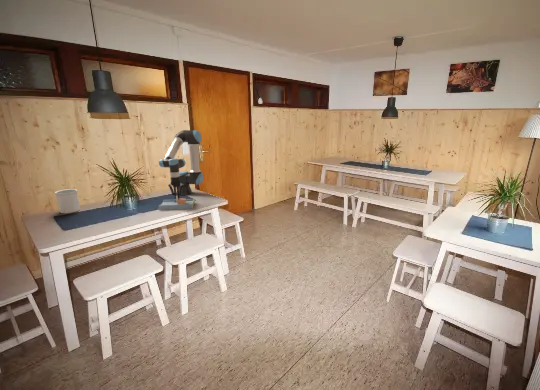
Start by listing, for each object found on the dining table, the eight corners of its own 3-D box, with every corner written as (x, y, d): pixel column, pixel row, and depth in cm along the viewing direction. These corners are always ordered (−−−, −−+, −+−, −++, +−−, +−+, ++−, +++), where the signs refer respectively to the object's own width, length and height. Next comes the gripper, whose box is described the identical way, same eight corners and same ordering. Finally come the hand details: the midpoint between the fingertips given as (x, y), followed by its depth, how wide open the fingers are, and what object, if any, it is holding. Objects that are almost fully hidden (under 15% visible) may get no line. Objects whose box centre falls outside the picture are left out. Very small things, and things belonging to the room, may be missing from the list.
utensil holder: (71, 207, 230) (67, 188, 225) (85, 208, 227) (81, 189, 222) (55, 213, 216) (50, 192, 211) (69, 214, 213) (65, 193, 209)
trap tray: (163, 204, 240) (163, 199, 239) (195, 203, 243) (194, 198, 242) (158, 209, 224) (158, 205, 223) (192, 208, 228) (191, 204, 227)
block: (179, 202, 236) (178, 198, 235) (186, 202, 236) (185, 198, 235) (177, 204, 230) (177, 200, 229) (184, 204, 231) (184, 200, 229)
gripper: (166, 177, 222) (169, 203, 228) (181, 177, 223) (184, 203, 230) (168, 175, 229) (171, 201, 235) (183, 175, 230) (186, 200, 237)
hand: (177, 202), depth 233 cm, fingers closed
